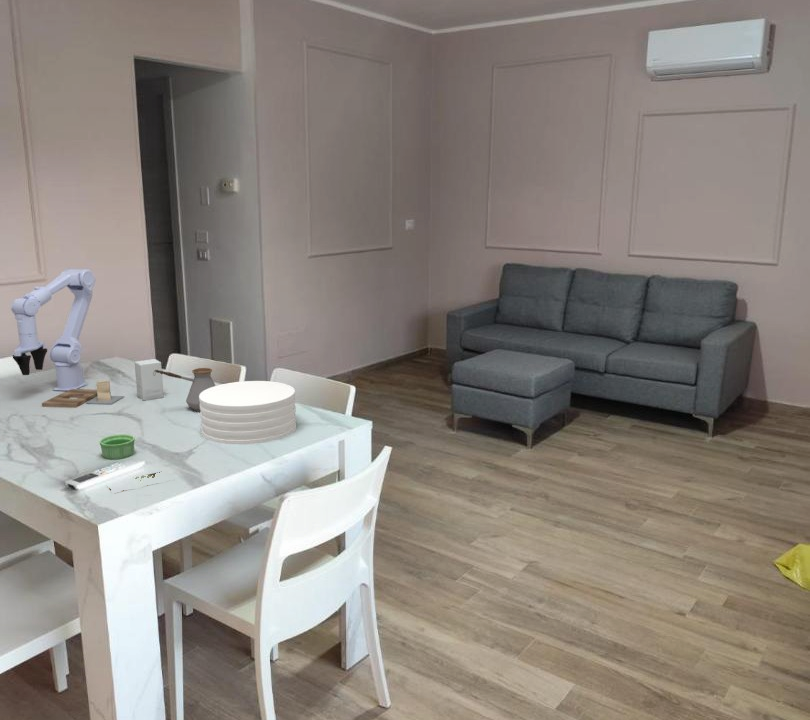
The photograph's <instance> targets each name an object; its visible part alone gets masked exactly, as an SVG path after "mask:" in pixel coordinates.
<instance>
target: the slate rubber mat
mask: <svg viewBox="0 0 810 720" xmlns="http://www.w3.org/2000/svg"><path fill="white" fill-rule="evenodd" d="M124 398H125V396H124V395H111V400H109V401H99V402H98V396H97V397H95V398H93V399H91V400H89V401H88V402H86V403H85V405H113V404H115V403H117V402H118V401H120V400H122V399H124Z"/></svg>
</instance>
